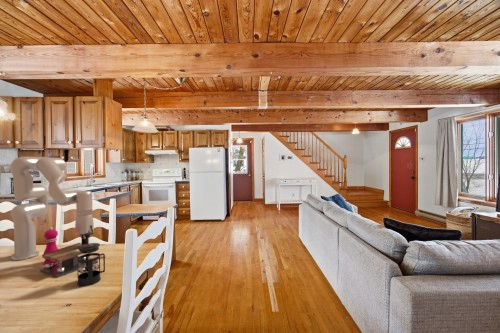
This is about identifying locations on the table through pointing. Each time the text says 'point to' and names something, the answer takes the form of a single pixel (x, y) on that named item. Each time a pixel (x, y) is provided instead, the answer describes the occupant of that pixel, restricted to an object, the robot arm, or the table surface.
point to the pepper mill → (50, 243)
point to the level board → (63, 253)
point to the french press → (89, 264)
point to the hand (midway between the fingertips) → (85, 245)
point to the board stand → (64, 267)
